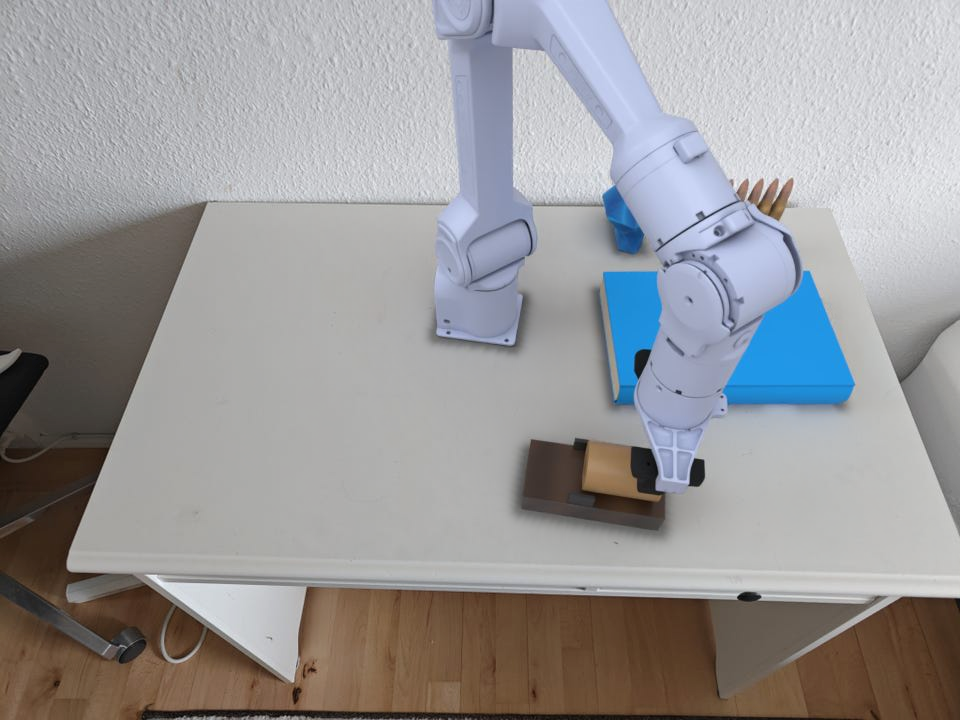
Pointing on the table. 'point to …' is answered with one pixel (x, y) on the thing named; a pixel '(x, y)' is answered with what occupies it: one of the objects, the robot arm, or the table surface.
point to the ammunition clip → (767, 196)
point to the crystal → (622, 222)
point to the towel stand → (579, 489)
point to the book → (764, 365)
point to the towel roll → (611, 471)
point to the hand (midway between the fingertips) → (650, 450)
